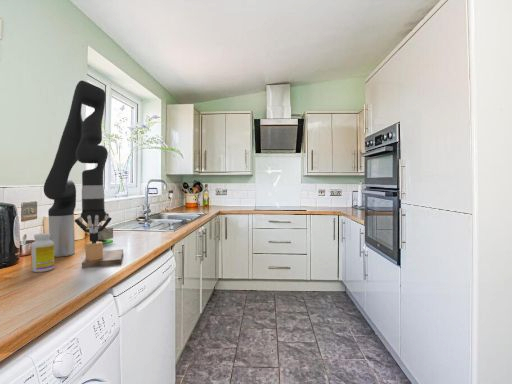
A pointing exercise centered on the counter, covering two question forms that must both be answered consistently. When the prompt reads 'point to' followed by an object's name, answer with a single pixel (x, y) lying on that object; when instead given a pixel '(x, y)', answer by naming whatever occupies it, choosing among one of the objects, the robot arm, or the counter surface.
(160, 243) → the counter surface
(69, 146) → the robot arm
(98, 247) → the tan wooden cube
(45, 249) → the supplement bottle
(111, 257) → the board
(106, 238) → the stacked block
